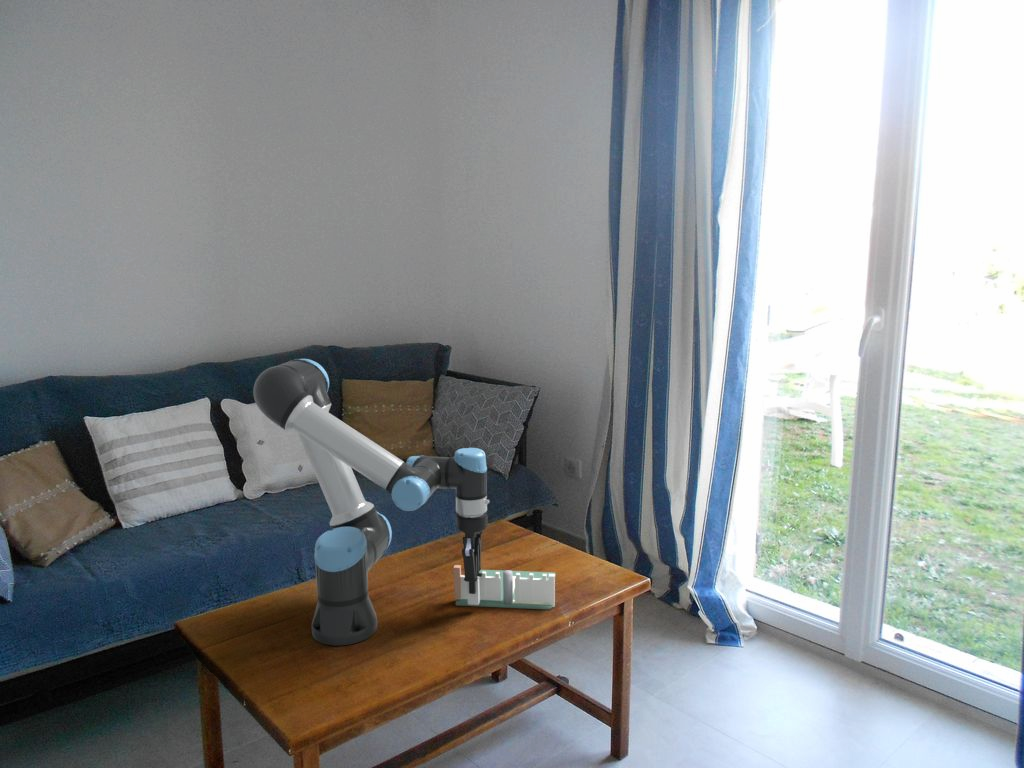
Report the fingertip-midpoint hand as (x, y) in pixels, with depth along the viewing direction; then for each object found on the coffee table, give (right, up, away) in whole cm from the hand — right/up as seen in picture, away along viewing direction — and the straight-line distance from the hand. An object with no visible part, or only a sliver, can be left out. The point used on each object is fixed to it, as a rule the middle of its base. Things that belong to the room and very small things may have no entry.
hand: (473, 603), depth 185 cm
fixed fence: (+14, -1, +3) cm, 14 cm away
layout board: (+8, 0, +12) cm, 15 cm away
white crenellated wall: (+1, 0, +5) cm, 5 cm away
